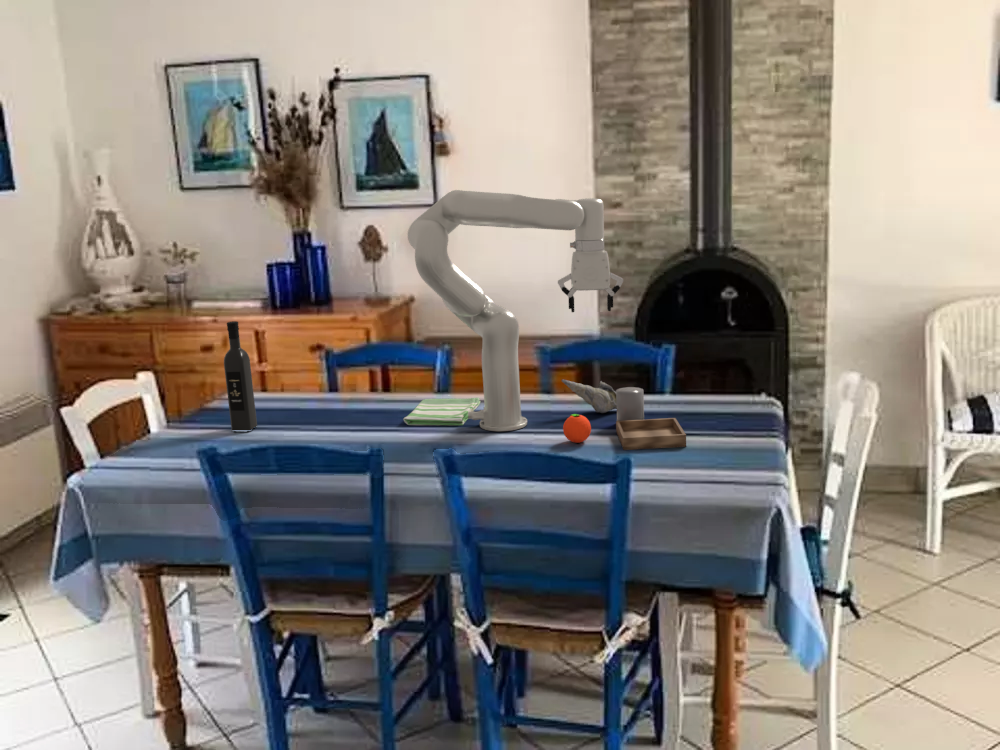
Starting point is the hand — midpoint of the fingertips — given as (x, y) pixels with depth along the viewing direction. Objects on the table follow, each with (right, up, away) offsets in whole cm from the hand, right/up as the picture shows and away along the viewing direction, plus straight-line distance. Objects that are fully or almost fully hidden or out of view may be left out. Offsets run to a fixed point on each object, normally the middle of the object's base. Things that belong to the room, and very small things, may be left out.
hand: (590, 310), depth 272 cm
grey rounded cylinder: (+10, -30, -6) cm, 32 cm away
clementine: (-5, -34, -18) cm, 39 cm away
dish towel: (-40, -29, +14) cm, 51 cm away
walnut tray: (+13, -33, -20) cm, 41 cm away
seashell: (+2, -27, +8) cm, 28 cm away
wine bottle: (-94, -32, +9) cm, 100 cm away
